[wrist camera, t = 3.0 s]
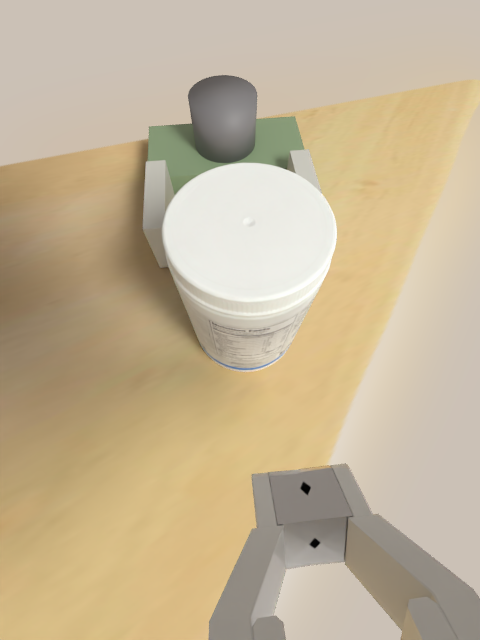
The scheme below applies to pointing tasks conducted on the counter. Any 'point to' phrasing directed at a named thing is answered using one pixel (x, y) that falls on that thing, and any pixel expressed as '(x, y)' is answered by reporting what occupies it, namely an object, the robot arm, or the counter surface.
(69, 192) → the counter surface
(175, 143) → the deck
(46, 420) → the counter surface
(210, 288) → the supplement tub
